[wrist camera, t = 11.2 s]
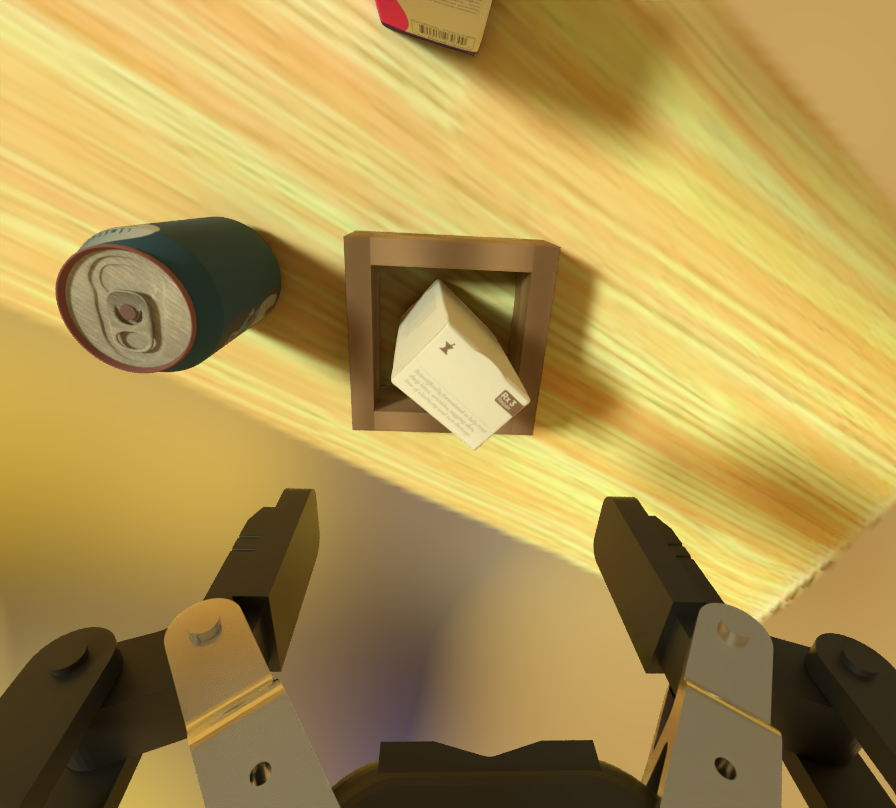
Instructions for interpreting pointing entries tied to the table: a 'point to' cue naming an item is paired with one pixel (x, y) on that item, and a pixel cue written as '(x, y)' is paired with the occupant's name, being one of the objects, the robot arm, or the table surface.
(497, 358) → the skincare box
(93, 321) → the soda can
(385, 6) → the supplement box
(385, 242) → the brown wooden square frame
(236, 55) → the table surface
